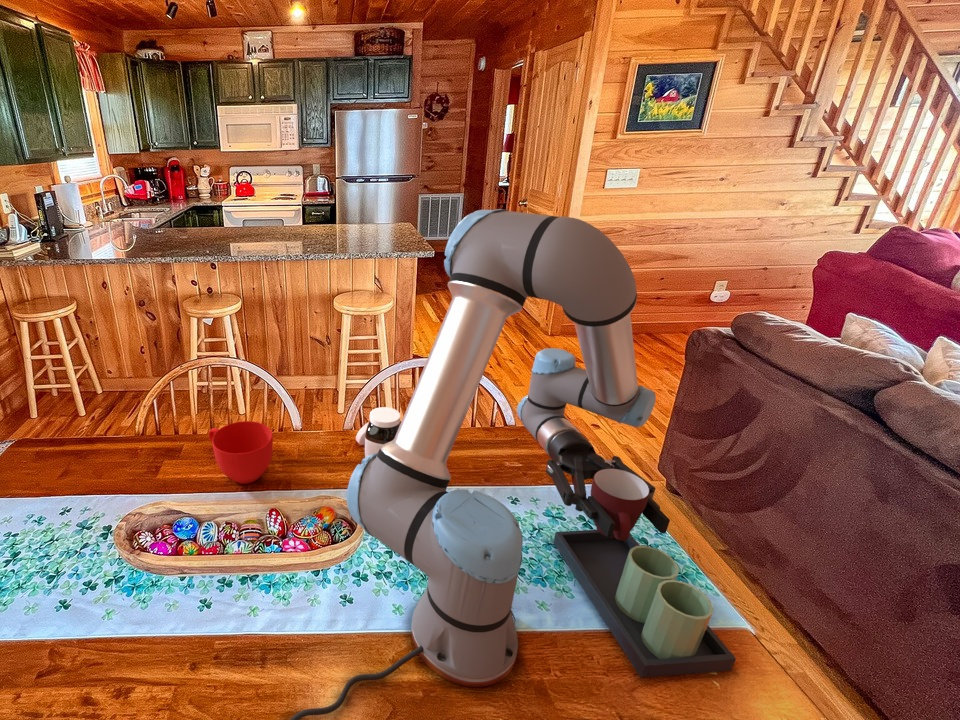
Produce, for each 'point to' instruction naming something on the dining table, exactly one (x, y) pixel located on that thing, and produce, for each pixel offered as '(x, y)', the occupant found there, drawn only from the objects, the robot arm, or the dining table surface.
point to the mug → (620, 499)
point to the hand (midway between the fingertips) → (638, 528)
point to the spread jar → (379, 429)
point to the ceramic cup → (242, 450)
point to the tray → (599, 577)
